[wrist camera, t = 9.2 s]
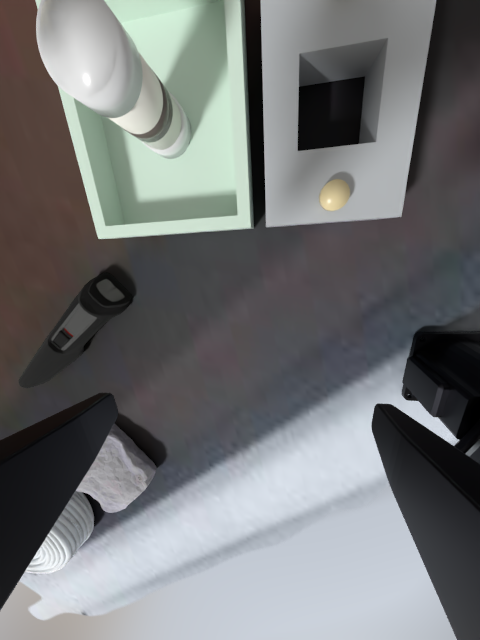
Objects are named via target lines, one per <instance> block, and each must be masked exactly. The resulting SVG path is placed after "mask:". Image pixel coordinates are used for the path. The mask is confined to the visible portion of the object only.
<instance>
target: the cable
mask: <svg viewBox="0 0 480 640" xmlns="http://www.w3.org/2000/svg"><path fill="white" fill-rule="evenodd" d="M93 527H94V515H93V510H92V507H91V505H90V503H89V501H88V499H87V498H86V496H85V495H84V494H83V493H82V492H79V491H75V493H74V494H73V496H72V498H71V499H70V501H69V502H68V504H67V505H66V507H65V509H64V510H63V512H62V513H61V515H60V517H59V518H58V520H57V521H56V523H55V524H54V526H53V528H52V529H51V531H50V532H49V534H48V536H47V537H46V539H45V540H44V542H43V544H42V545H41V547H40V548H39V550H38V551H37V553H36V555H35V556H34V558H33V559H32V561H31V563H30V564H29V566H28V567H27V569H26V571H25V572H29V573H38V574H43V573H52V572H55V571H58V570H60V569H61V568H63V567H64V566H65V565H66V564H67V563H68V562H69V560H70V559H71V558H72V557H73V555H74V554H75V553H76V552H77V550H78V549H79V547H80V546H81V545H82V544H83V543H84V542H85V541H86V540H87V539H88V538H89V536H90V534H91V533H92V531H93Z"/></svg>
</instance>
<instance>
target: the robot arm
mask: <svg viewBox="0 0 480 640" xmlns="http://www.w3.org/2000/svg"><path fill="white" fill-rule="evenodd" d="M421 337H424V338H423V339H422V340H420V338H421ZM403 383H404V384H403V389H402V396H403V397H404V398H405V399H406V400H411V401H419V402H420V403H421V404H422V405H423V407H424V408H425V409H426V410H427V411H428V412H429V414H431V415H432V416H433V417H438V418H439V419H440V420H441V421H442V422H443V424H444V425H445V426H446V427H447V428H448V429H449V430H450V431H451V433H452V434H453V435H454V436H455V437H456V438H457V439H459V441H458V442H457V443H456V444H455V446H453V445H451V444H450V443H448V442H447V441H445V440H444V439H442V438H441V437H439V436H438V435H436V434H435V433H433V432H432V431H430V430H429V429H427V428H426V427H424V426H423V425H421V424H420V423H418V422H417V421H415V420H414V419H412V418H411V417H409V416H408V415H406V414H405V413H403V412H402V411H400V410H399V409H397V408H396V407H394V406H393V405H391V404H376V406H375V408H374V414H373V419H372V432H373V435H374V438H375V441H376V444H377V447H378V451H379V454H380V457H381V460H382V463H383V466H384V469H385V472H386V475H387V478H388V481H389V484H390V486H391V489H392V491H393V494H394V496H395V498H396V501H397V503H398V505H399V508H400V510H401V512H402V514H403V517H404V519H405V521H406V523H407V526H408V528H409V530H410V533H411V535H412V537H413V540H414V542H415V544H416V547H417V549H418V551H419V553H420V555H421V558H422V560H423V563H424V565H425V567H426V569H427V572H428V574H429V576H430V579H431V581H432V583H433V585H434V588H435V590H436V592H437V595H438V597H439V599H440V602H441V604H442V606H443V608H444V611H445V613H446V615H447V618H448V620H449V622H450V624H451V627H452V629H453V631H454V634H455V636H456V638H457V640H480V332H419V333H417V334H415V335H414V338H413V342H412V347H411V351H410V356H409V357H408V359H407V363H406V368H405V373H404V377H403ZM410 393H411V394H410ZM408 394H410V395H408ZM117 416H118V409H117V406H116V402H115V399H114V396H113V395H112V394H111V393H99V394H97V395H95V396H93V397H90V398H88V399H86V400H84V401H82V402H80V403H78V404H76V405H74V406H72V407H69V408H67V409H65V410H63V411H61V412H59V413H57V414H55V415H53V416H51V417H48V418H46V419H44V420H42V421H40V422H38V423H36V424H34V425H32V426H30V427H27V428H25V429H23V430H21V431H19V432H17V433H15V434H13V435H11V436H9V437H6V438H4V439H2V440H0V610H1V609H2V607H3V605H4V604H5V602H6V601H7V599H8V598H9V596H10V594H11V593H12V591H13V590H14V588H15V586H16V585H17V583H18V582H19V580H20V578H21V577H22V575H23V574H24V572H25V571H26V569H27V567H28V566H29V564H30V563H31V561H32V559H33V558H34V556H35V555H36V553H37V551H38V550H39V548H40V547H41V545H42V544H43V542H44V540H45V539H46V537H47V536H48V534H49V532H50V531H51V529H52V528H53V526H54V524H55V523H56V521H57V520H58V518H59V517H60V515H61V513H62V512H63V510H64V509H65V507H66V505H67V504H68V502H69V501H70V499H71V498H72V496H73V494H74V493H75V491H76V490H77V488H78V486H79V485H80V483H81V482H82V480H83V478H84V477H85V475H86V474H87V472H88V471H89V469H90V467H91V466H92V464H93V462H94V461H95V459H96V457H97V455H98V454H99V452H100V450H101V448H102V446H103V444H104V442H105V440H106V438H107V436H108V434H109V432H110V430H111V429H112V427H113V425H114V423H115V421H116V419H117Z"/></svg>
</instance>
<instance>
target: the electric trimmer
mask: <svg viewBox="0 0 480 640" xmlns="http://www.w3.org/2000/svg"><path fill="white" fill-rule="evenodd" d="M131 299H132V295H131V294H130V293H129V292H128V291H127V290H126V289H125V288H124V287H123V286H122V285H121V284H120V283H119V282H118V281H117V280H116V279H115V278H114V277H113V276H112V275H111V274H109V273H102V274H100V275H99V276H97V277H96V278H94V279H92V280H90V281H89V282H88V283H87V284H86V285H85V286H84V287H83V289H82V290H81V291H80V293H79V294H78V295H77V296H76V298H75V299H74V300H73V302H72V303H71V304H70V306H69V307H68V309H67V310H66V312H65V313H64V314H63V316H62V317H61V319H60V320H59V322H58V323H57V324H56V326H55V327H54V329H53V330H52V331H51V332H50V334H49V335H48V336H47V338H46V339H45V341H44V342H43V344H42V345H41V347H40V348H39V350H38V351H37V353H36V354H35V356H34V357H33V359H32V360H31V362H30V363H29V365H28V366H27V368H26V369H25V371H24V372H23V374H22V376H21V377H20V379H19V385H20V386H21V387H24V388H30V387H34V386H37V385H40V384H43V383H45V382H47V381H49V380H50V379H52V378H53V377H54V376H56V375H57V374H58V373H59V372H61V371H62V370H63V369H65V368H66V367H67V366H68V365H70V364H71V363H72V362H73V361H75V360H76V359H77V358H78V357H79V356H81V355H82V354H83V352H84V345H85V344H86V343H87V342H88V341H89V339H90V338H91V337H92V336H93V335H94V334H95V333H96V332H97V331H98V330H99V329H100V328H101V327H102V326H103V325H104V324H105V323H106V322H107V321H108V320H109V319H111V318H112V317H114V316H116V315H119V314H121V313H122V312H123V311H124V310H125V309H126V308H127V307H128V306H129V305H130V300H131Z"/></svg>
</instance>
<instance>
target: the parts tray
mask: <svg viewBox="0 0 480 640" xmlns="http://www.w3.org/2000/svg"><path fill="white" fill-rule="evenodd" d="M35 1H36V4H37V8H39V5H40V2H41V0H35ZM104 1H105V2H106V4H107V5H108V6H109V8H110V9H111V11H112V12H113V13H114V15H115V16H116V17H117V19H118V20H119V22H120V23H121V24H122V26H123V27H124V28H125V30H126V31H127V33H128V34H129V35H130V37H131V38H132V40H133V42H134V43H135V45H136V48H137V50H138V52H139V53H140V54H141V56H142V57H143V58H144V60H145V61H146V62H147V64H148V65H149V66H150V68H151V69H152V70H153V71H154V72H155V74H156V75H157V77H158V78H159V79H160V81H161V82H162V83H163V85H164V86H165V87H166V89H167V91H169V92H170V93H171V94H172V95H173V96H174V97H175V98H176V100H177V101H178V103H179V104H180V105H181V107H182V108H183V109H184V111H185V112H186V114H187V116H188V118H189V120H190V124H191V140H190V144H189V146H188V148H187V150H186V151H185V152H184V153H183V154H182V155H181V156H179V157H177V158H174V159H167V158H164V157H161V156H160V155H158V154H157V153H155V152H154V151H152V150H151V149H149V148H148V147H147V146H145V145H144V144H143V143H142V141H141V140H139V139H137V138H136V137H134V136H133V135H131V134H130V133H128V132H127V131H125V130H124V129H123V128H122V127H120V126H119V125H117V124H116V123H115V122H113V121H112V120H110V119H109V118H107V117H104V116H101V115H99V114H97V113H96V112H94V111H93V110H91V109H90V108H88V107H87V106H85V105H84V104H82V103H81V102H79V101H78V100H76V99H75V98H73V97H72V96H70V95H69V94H68V93H66V92H65V91H64V90H62V89H61V88H60V87H59V86H58V88H59V92H60V95H61V99H62V103H63V107H64V111H65V114H66V118H67V122H68V126H69V129H70V133H71V137H72V141H73V145H74V148H75V152H76V156H77V160H78V164H79V167H80V171H81V175H82V179H83V183H84V186H85V190H86V194H87V198H88V202H89V205H90V209H91V213H92V217H93V221H94V224H95V228H96V232H97V236H98V239H110V238H130V237H143V236H157V235H171V234H184V233H198V232H212V231H225V230H239V229H253V228H254V215H253V191H252V167H251V143H250V119H249V95H248V71H247V47H246V23H245V0H104Z"/></svg>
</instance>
